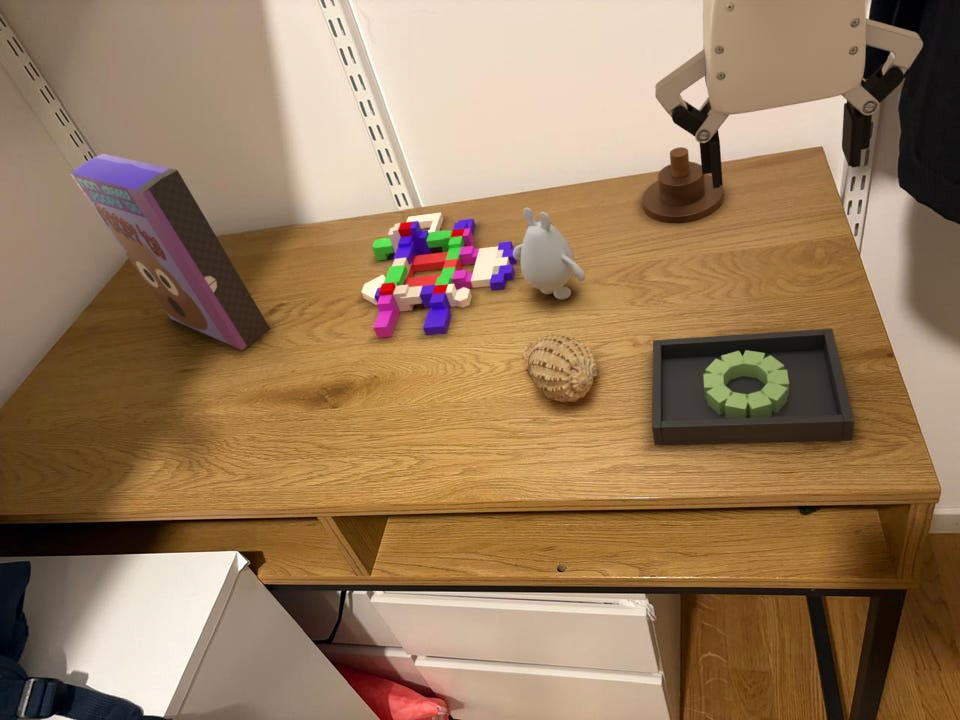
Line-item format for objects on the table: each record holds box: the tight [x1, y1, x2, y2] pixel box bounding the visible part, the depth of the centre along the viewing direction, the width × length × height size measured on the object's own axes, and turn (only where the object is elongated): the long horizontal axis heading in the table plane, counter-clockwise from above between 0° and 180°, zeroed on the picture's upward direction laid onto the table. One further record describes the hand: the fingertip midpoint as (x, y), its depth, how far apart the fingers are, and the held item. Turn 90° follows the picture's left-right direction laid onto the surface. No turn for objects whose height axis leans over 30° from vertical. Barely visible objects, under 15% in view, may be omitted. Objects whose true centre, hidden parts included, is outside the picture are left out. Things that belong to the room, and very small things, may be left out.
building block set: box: [360, 212, 518, 339], centre depth 96 cm, size 25×20×4 cm
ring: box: [703, 350, 789, 419], centre depth 69 cm, size 7×8×2 cm
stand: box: [642, 146, 724, 224], centre depth 93 cm, size 10×10×7 cm
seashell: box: [521, 334, 598, 403], centre depth 77 cm, size 8×6×10 cm
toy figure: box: [513, 206, 586, 300], centre depth 84 cm, size 11×6×12 cm, turn 47°
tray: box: [651, 328, 855, 446], centre depth 69 cm, size 17×12×2 cm
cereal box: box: [69, 153, 271, 352], centre depth 94 cm, size 17×5×24 cm, turn 53°
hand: (781, 168), depth 57 cm, fingers open, 9 cm apart
